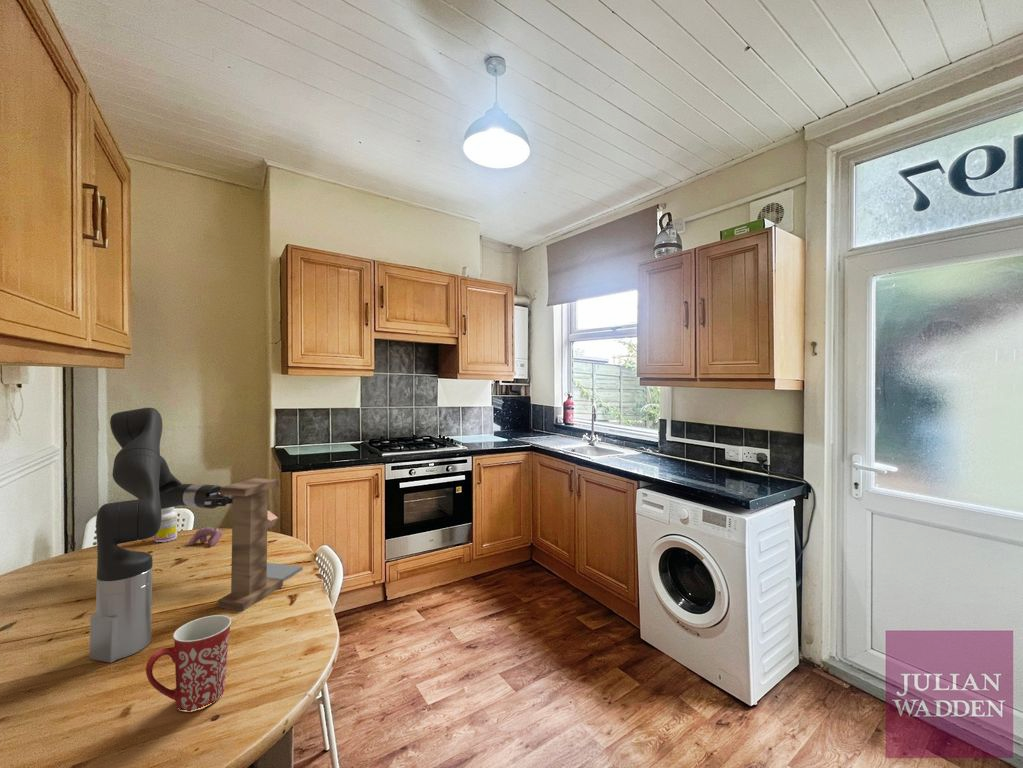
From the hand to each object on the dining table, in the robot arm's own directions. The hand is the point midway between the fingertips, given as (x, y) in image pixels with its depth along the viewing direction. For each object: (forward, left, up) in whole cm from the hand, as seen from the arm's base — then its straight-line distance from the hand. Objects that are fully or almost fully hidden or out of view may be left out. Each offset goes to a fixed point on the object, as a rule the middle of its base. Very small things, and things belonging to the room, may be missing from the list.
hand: (247, 499), depth 133 cm
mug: (-50, -36, -23) cm, 65 cm away
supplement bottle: (+15, +52, -23) cm, 59 cm away
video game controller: (+16, +33, -23) cm, 44 cm away
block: (0, -1, -4) cm, 4 cm away
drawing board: (0, -9, -23) cm, 25 cm away
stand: (-14, -14, -23) cm, 30 cm away
